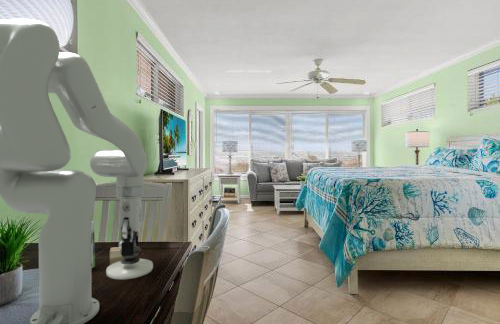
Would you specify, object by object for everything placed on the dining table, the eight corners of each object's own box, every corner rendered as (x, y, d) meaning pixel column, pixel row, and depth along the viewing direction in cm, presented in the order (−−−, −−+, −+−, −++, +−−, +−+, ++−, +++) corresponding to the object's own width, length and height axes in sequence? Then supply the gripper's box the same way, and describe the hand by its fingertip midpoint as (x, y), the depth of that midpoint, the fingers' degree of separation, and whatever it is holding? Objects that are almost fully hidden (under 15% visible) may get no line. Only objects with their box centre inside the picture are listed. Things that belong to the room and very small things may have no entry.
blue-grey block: (130, 254, 102) (130, 243, 102) (118, 255, 101) (118, 243, 101) (133, 250, 106) (133, 239, 106) (121, 251, 105) (121, 240, 105)
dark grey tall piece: (133, 265, 84) (133, 224, 84) (115, 263, 85) (115, 223, 85) (144, 258, 90) (144, 219, 90) (126, 257, 91) (126, 218, 91)
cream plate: (149, 277, 83) (149, 273, 82) (100, 280, 80) (100, 276, 80) (155, 261, 95) (155, 257, 95) (113, 263, 93) (113, 259, 93)
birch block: (123, 262, 94) (123, 250, 94) (109, 264, 93) (109, 251, 93) (123, 258, 98) (123, 246, 98) (110, 259, 97) (110, 247, 96)
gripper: (137, 195, 79) (137, 261, 80) (147, 188, 96) (147, 242, 97) (108, 196, 78) (108, 262, 78) (123, 188, 95) (123, 243, 95)
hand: (130, 250), depth 88 cm, fingers closed on dark grey tall piece, 5 cm apart
